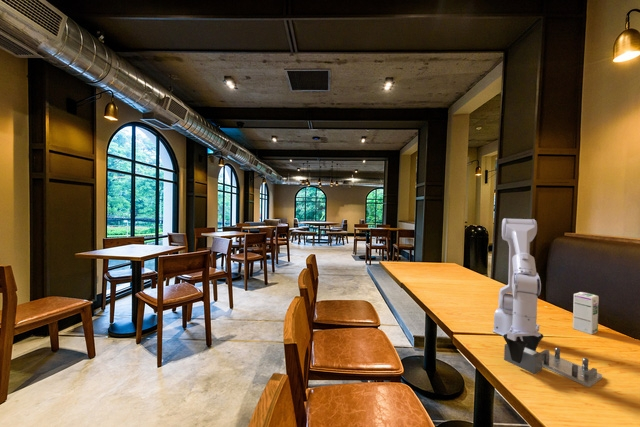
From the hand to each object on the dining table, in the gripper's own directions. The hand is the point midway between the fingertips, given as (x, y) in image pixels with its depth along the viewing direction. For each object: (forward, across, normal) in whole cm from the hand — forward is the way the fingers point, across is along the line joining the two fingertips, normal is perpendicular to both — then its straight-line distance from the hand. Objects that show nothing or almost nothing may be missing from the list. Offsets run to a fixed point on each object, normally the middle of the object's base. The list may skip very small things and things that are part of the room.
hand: (522, 358), depth 79 cm
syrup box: (+2, +50, +1) cm, 50 cm away
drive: (+2, 0, 0) cm, 2 cm away
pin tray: (+2, +9, -7) cm, 12 cm away
